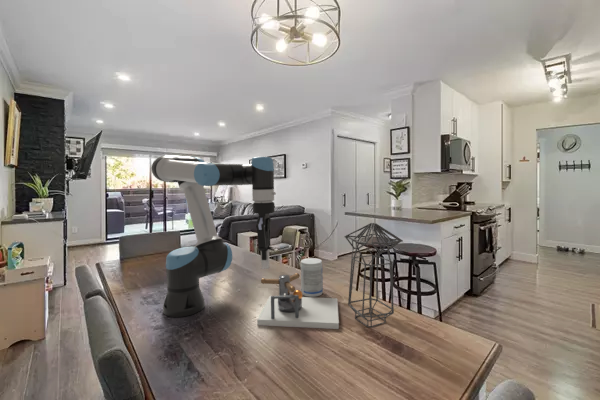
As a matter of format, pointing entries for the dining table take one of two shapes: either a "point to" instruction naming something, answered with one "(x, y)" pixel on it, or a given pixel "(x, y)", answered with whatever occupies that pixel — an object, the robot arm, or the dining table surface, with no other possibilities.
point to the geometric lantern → (375, 229)
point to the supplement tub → (311, 277)
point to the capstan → (286, 287)
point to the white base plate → (301, 313)
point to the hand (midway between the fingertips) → (265, 268)
